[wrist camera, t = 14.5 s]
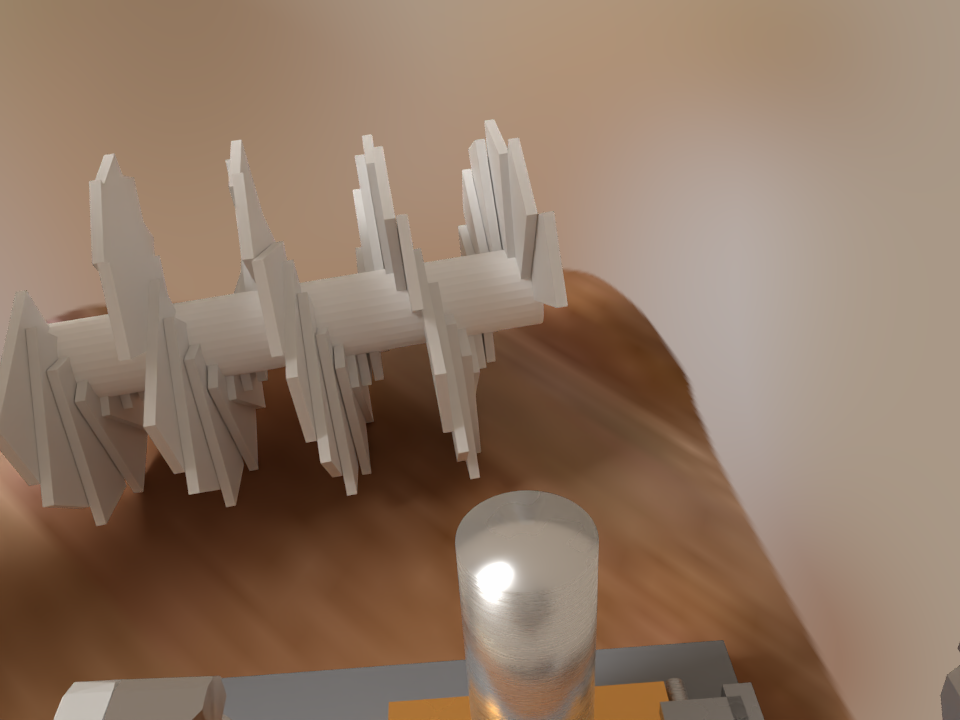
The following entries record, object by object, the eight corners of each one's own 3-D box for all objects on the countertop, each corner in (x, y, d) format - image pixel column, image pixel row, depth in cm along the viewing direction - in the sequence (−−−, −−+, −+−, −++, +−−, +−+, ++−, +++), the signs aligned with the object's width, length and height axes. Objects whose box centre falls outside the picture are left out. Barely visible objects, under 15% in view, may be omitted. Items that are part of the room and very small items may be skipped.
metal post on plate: (385, 855, 29) (340, 624, 23) (390, 713, 33) (353, 489, 27) (722, 828, 29) (762, 592, 23) (683, 691, 33) (708, 463, 27)
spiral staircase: (129, 491, 54) (534, 419, 56) (4, 604, 37) (597, 494, 39) (63, 188, 52) (488, 123, 54) (-104, 155, 35) (533, 61, 36)
